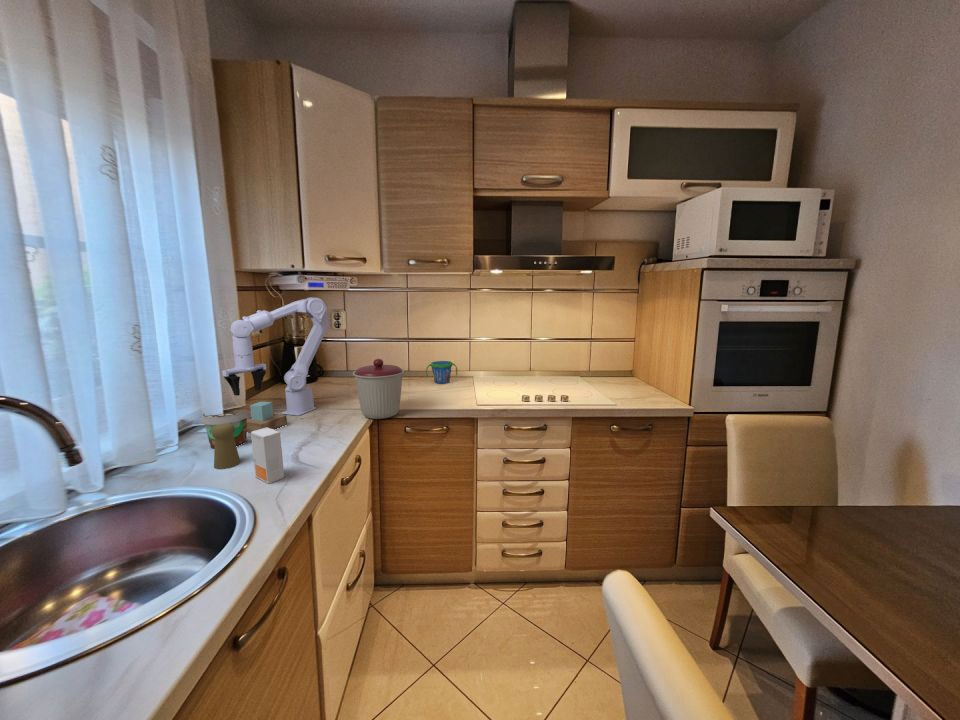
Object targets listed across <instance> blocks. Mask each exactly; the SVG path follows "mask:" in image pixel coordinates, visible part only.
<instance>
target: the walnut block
mask: <svg viewBox="0 0 960 720" xmlns="http://www.w3.org/2000/svg"><path fill="white" fill-rule="evenodd" d="M285 425H287V426H288V418H287V414H282V413H281V414H279V413H273V417H272V418H269V419H267V420H264V421H258V420H252V418H251V416H249V417H247V432H248V433H247V434H251V432H252V431H256V430H259V429H263V428H270V429H274V430H275V429H277V428H279V429H281V428H280V427H282V426H284V427H286V426H285ZM282 428H283V427H282ZM277 430H278V429H277Z"/></svg>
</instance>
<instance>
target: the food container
mask: <svg viewBox="0 0 960 720" xmlns="http://www.w3.org/2000/svg"><path fill="white" fill-rule="evenodd" d="M249 417H250V414H249V412H248V411H247V409H245V410H244V411H242V412H239V413H233V412H226V413H225V412H224V413H219V414H214V415H213V414H210V415H205V412H204V413H202V416H201V420H200V422H201V424H203V425H204V427H205V430H206V434H207V438H208V442H209V447H210V448H211V449H212V450H215V438H214V437H213V436H212V428H213V427H214V426H216V425H219V424H224V423H230V424H233V425H234V427H235V433H234V435H233V437H234V440H235V444H236V446H237V447H240V446H242V445H244V444H246V443H247V438H248V437H247V434H248V433H247V418H249ZM245 442H246V443H245ZM243 443H244V444H243ZM241 444H242V445H241ZM239 445H240V446H239Z"/></svg>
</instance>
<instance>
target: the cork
mask: <svg viewBox="0 0 960 720" xmlns="http://www.w3.org/2000/svg"><path fill="white" fill-rule="evenodd" d="M234 433H235V427H234V425H233V424H230V423H224V424H219V425H216V426H214V427H213V428H212V436H213V437H214V438H215V449H214V450H213V451H214V453H213V454H214V457H213V459H214V460H213V468H214V469H216V470H225V469H226V468H227V469H231V468H233V467H236V465H237V466H238V465H240V464H239V463H241V459H240V456H239V451H238V448H237V447H238V446H237V447H236V444H235V440H234V437H233V435H234ZM227 469H226V470H227Z"/></svg>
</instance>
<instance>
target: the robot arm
mask: <svg viewBox="0 0 960 720" xmlns="http://www.w3.org/2000/svg"><path fill="white" fill-rule="evenodd" d="M295 313H306V314H307V315H308V316H309V317H310V320H311V322H312V324H313V325H312V327H311V329H310V332H309V333H308V336H307V338H306V339H305V342H304V344H303V346H302V348H301V349H300V352H299V354H298V356H297V358H296V360H295V362H294V363H293V364H292V365H291V368H290V369H289V370H288V371H287V372H286V373H285V374H284V376H283V380H284V383H286V385H287V386H286V387H285V389H284V392H285V402H286V410H284V411H282V412H281V415H289V416H302V415H304V414H306V413H309V412H311V411H315V410H316V409H317V408H316V407H315V403H314V393H313V390H312V389H311V388H310V387H308V386H306V385H307V377H308V374H309V368H310V366H311V364H312V361H313V360H314V358H315V355H316V353H317V352H318V349H319V346H320V344H321V343H322V340H323V339H324V337H325V335H326V332H327V330H328V329H329V326H330V324H329V323H330V322H329V318H328V317H329V316H328V315H329V314H328V307H327V305H326V303H325V302H324V301H323V300H322V299H321V298H319V297H307V298H304V299H298V300H296V301H292V302H290V303H289V304H286V305H283V306H281V307H278V308H276V309H274V310H271V311H268V310H265V309H263V310H260V309H258V310H257V311H256V313H253V314H251V315H248V316H245V315H244V316H242V319H237V320H234V321H233V322H232V323H231V325H230V332H231V333H232V337H231V338H232V351H233V359H234V367H232V368H228V369H223V370H221V374H222V377H224V379H225V381H226V382H227V383H228V385H229V386H230V388H231V390H232V393H233V395H234V396H237V397H238V396H240V395H241V394H240V393H241V392H240V391H241V390H240V379H241V376H238V375H239V374H245V373H246V374H247V373H251V377H252V380H253V386H254V387H253V388H254V390H255V391H258V392H259V391H261V387H262V383H263V380H264V378H265V375H266V373H267V372H266V370H267V364H266V363H257V364H255V363H254V362H255V361H254V352H253V351H254V350H253V343H252V340H251V334H252V333H256V332H258V331H261V330H263V329H266V328H268V327H271V326H273V324H274V322H275V320H279V319H281V318H284V317H287V316H289V315H292V314H295Z"/></svg>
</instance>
